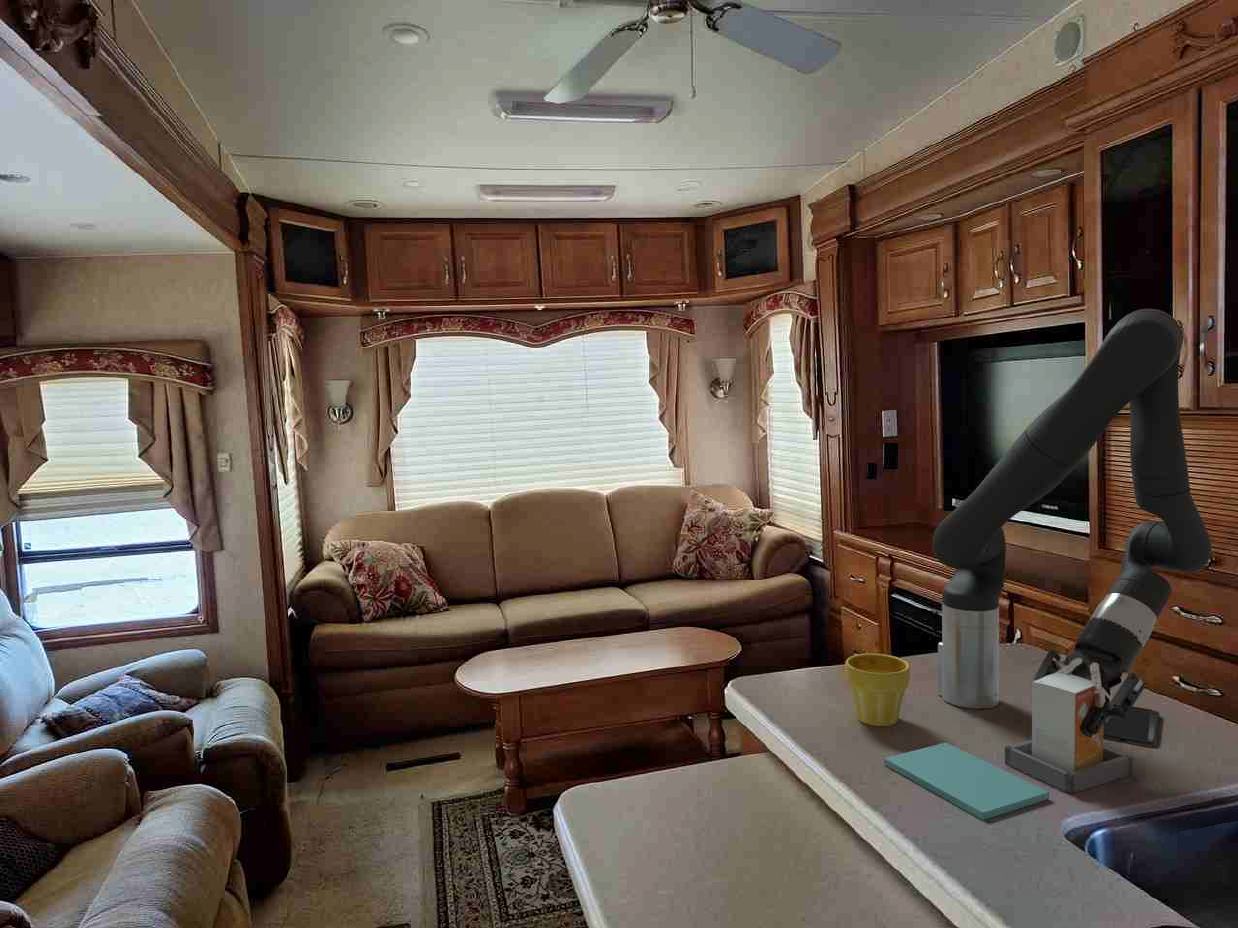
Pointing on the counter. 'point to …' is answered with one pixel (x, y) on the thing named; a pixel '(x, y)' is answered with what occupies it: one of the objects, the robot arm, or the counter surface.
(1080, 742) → the small box
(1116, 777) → the tray frame
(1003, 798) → the board
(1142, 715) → the phone
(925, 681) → the counter surface
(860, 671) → the plant pot
